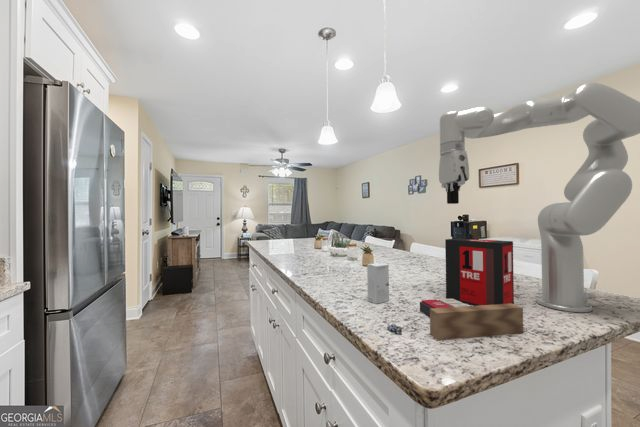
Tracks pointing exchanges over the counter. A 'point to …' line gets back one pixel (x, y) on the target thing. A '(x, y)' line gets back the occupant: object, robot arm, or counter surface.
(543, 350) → the counter surface
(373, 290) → the skincare box
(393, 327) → the blueberries
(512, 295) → the cleaning product box
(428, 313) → the calculator
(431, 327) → the walnut board
